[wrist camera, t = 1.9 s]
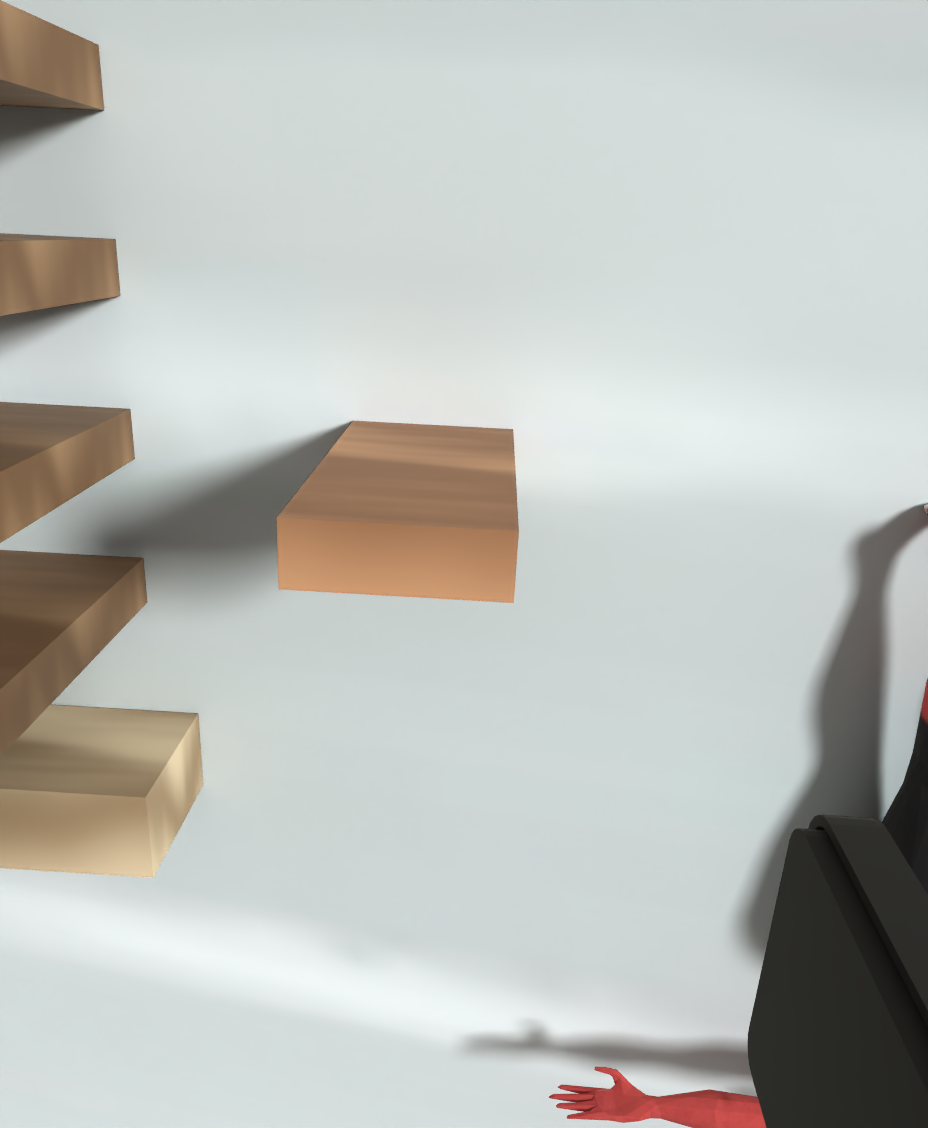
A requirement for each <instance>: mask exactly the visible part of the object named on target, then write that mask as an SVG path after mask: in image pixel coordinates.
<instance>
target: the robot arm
mask: <svg viewBox="0 0 928 1128" xmlns="http://www.w3.org/2000/svg"><path fill="white" fill-rule="evenodd" d="M748 1058H749V1065H750V1070H751V1075H752V1078H753V1082H754V1085H755V1089H756V1093H757V1096H758V1100H759V1103H760V1107H761V1110H762V1114H763V1118H764V1121H765V1125H766V1128H928V895H927V893H926V891H925V890H924V888H923V887H922V885H921V883H920V882H919V880H918V879H917V877H916V875H915V874H914V872H913V870H912V869H911V867H910V866H909V864H908V862H907V861H906V859H905V857H904V856H903V854H902V853H901V851H900V849H899V848H898V846H897V845H896V843H895V841H894V840H893V838H892V836H891V835H890V833H889V832H888V830H887V828H886V827H885V826H884V825H883V823H882V822H881V821H879V820H877V819H873V818H859V817H845V816H831V815H817V816H815V817H814V818H813V820H812V821H811V823H810V825H809V828H808V829H799V828H798V829H795V830H794V831H793V833H792V835H791V838H790V841H789V845H788V850H787V855H786V859H785V864H784V869H783V873H782V878H781V882H780V887H779V892H778V896H777V901H776V906H775V910H774V915H773V920H772V924H771V929H770V933H769V938H768V943H767V947H766V952H765V957H764V961H763V966H762V970H761V975H760V980H759V984H758V989H757V994H756V998H755V1003H754V1008H753V1012H752V1017H751V1021H750V1026H749V1032H748Z"/></svg>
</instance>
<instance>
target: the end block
mask: <svg viewBox="0 0 928 1128" xmlns="http://www.w3.org/2000/svg"><path fill="white" fill-rule="evenodd" d="M202 786H203V776H202V762H201V747H200V733H199V718H198V714H195V713H179V712H162V711H146V710H129V709H112V708H96V707H79V706H63V705H49V706H48V707H47V708H46V709H45V710H44V712H43V713H42V714H41V715H40V716H39V717H38V718H37V719H36V720H35V721H34V722H33V723H32V724H31V725H30V726H29V727H28V728H27V729H26V730H25V732H24V733H23V734H22V735H21V736H20V737H19V738H18V739H17V740H16V741H15V742H14V743H13V744H12V745H11V746H10V747H9V748H8V749H7V750H6V752H5V753H4V754H3V755H2V756H1V757H0V868H8V869H23V870H39V871H54V872H70V873H86V874H101V875H117V876H133V877H148V878H153V877H154V876H155V874H156V872H157V870H158V868H159V866H160V864H161V862H162V861H163V859H164V857H165V855H166V853H167V851H168V849H169V848H170V846H171V844H172V842H173V840H174V838H175V836H176V835H177V833H178V831H179V829H180V827H181V825H182V823H183V822H184V820H185V818H186V816H187V814H188V812H189V810H190V808H191V807H192V805H193V803H194V801H195V799H196V797H197V795H198V794H199V792H200V790H201V788H202Z"/></svg>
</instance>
